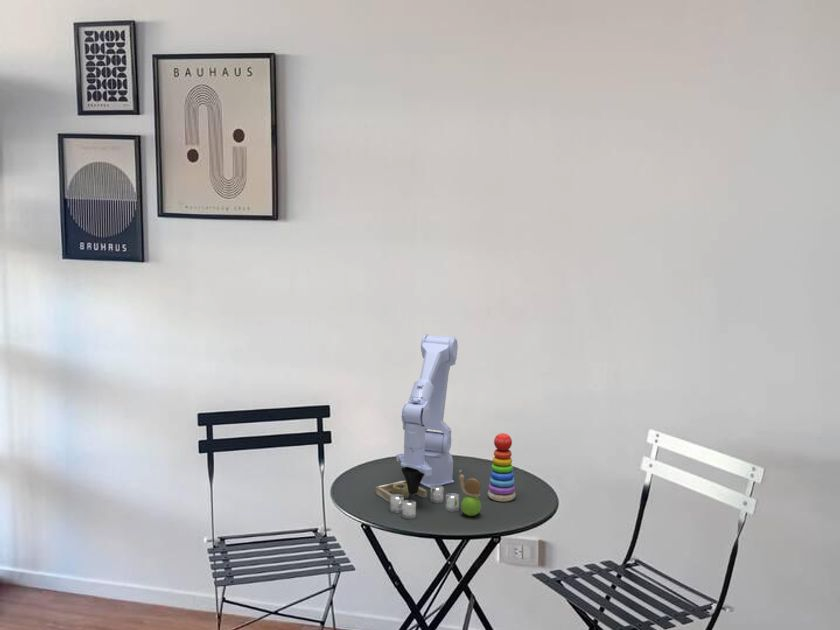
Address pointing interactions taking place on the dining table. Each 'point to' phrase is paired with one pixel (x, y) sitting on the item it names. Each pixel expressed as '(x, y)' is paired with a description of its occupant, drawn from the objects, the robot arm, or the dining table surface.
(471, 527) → the dining table surface
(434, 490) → the cylinder
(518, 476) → the dining table surface
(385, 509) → the dining table surface
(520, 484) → the dining table surface
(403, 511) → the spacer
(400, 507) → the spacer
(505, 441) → the stacking toy
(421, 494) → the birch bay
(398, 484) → the brass nut
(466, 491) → the snail figurine
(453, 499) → the cylinder
